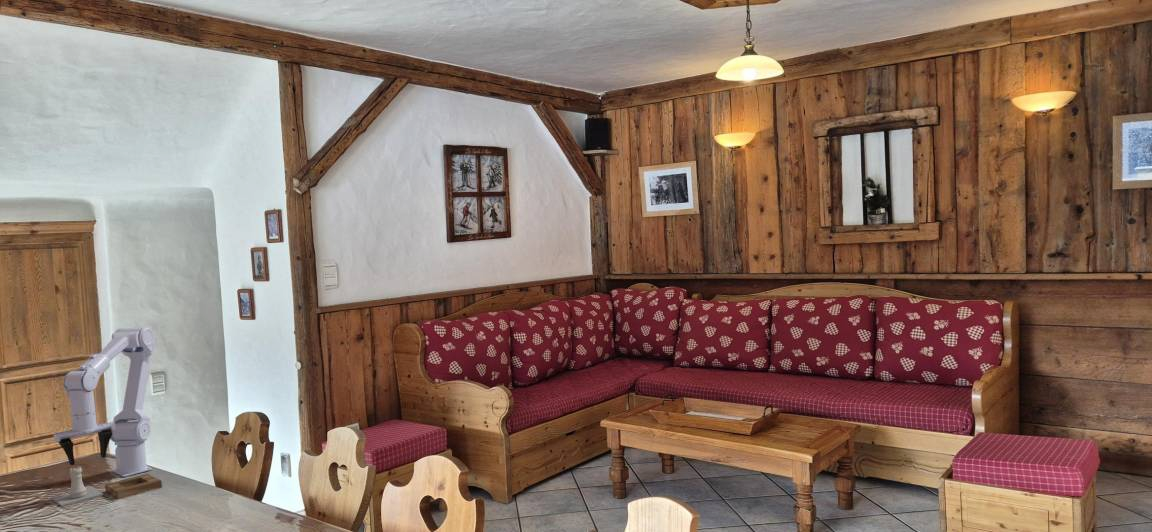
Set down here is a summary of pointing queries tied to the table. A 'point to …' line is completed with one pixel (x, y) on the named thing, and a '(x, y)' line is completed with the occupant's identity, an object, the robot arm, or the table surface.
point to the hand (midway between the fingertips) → (87, 460)
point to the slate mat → (65, 500)
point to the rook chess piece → (76, 484)
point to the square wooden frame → (133, 486)
